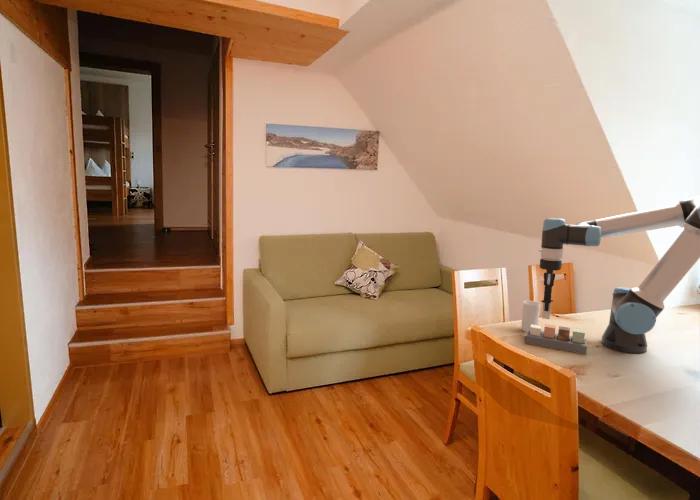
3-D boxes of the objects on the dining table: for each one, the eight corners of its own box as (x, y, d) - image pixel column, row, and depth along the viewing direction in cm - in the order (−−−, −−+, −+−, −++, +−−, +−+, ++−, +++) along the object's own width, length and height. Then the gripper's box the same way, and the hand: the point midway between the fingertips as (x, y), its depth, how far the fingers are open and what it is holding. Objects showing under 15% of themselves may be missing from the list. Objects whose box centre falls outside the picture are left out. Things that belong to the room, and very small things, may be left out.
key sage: (583, 340, 166) (584, 330, 165) (583, 343, 163) (584, 333, 162) (572, 338, 168) (573, 328, 167) (572, 341, 164) (573, 331, 164)
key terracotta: (554, 335, 170) (555, 325, 170) (554, 338, 167) (555, 328, 166) (544, 333, 172) (545, 323, 171) (543, 336, 169) (544, 326, 168)
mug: (534, 334, 180) (537, 306, 178) (518, 330, 184) (520, 302, 182) (542, 328, 187) (545, 301, 185) (526, 324, 192) (529, 298, 190)
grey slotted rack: (585, 346, 168) (586, 338, 168) (586, 354, 160) (587, 346, 160) (527, 335, 178) (528, 328, 177) (525, 342, 170) (526, 335, 169)
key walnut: (568, 337, 168) (569, 327, 168) (568, 340, 165) (569, 330, 164) (557, 335, 170) (559, 326, 169) (557, 338, 167) (558, 328, 166)
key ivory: (540, 335, 173) (541, 326, 172) (539, 338, 169) (540, 328, 169) (530, 333, 174) (531, 324, 174) (529, 336, 171) (530, 327, 170)
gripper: (541, 255, 173) (536, 312, 177) (539, 260, 161) (534, 321, 165) (562, 257, 170) (556, 315, 173) (561, 262, 158) (555, 324, 162)
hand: (545, 318), depth 169 cm, fingers closed
